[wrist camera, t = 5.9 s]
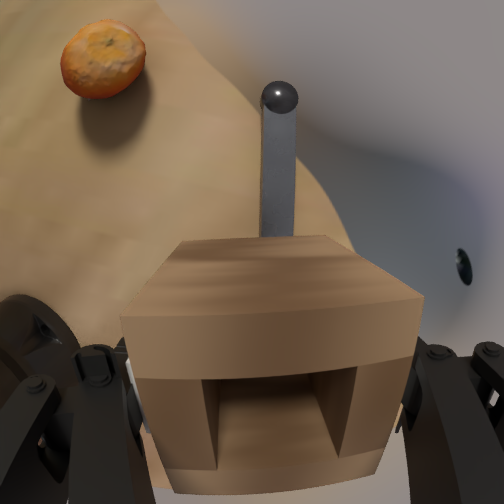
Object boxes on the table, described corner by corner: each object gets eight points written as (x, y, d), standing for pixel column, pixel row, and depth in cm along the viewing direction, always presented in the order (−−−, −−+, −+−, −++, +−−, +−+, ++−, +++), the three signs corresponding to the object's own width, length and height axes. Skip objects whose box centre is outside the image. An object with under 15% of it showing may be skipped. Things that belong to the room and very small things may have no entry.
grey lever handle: (245, 308, 30) (249, 343, 23) (249, 86, 25) (255, 57, 19) (296, 308, 31) (313, 341, 24) (304, 89, 26) (325, 64, 19)
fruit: (55, 63, 22) (59, 17, 15) (123, 48, 26) (144, 4, 19) (67, 127, 23) (68, 90, 17) (139, 107, 27) (162, 70, 21)
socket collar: (196, 364, 15) (174, 493, 7) (182, 241, 13) (119, 316, 6) (319, 356, 15) (374, 474, 7) (325, 235, 14) (424, 296, 6)
